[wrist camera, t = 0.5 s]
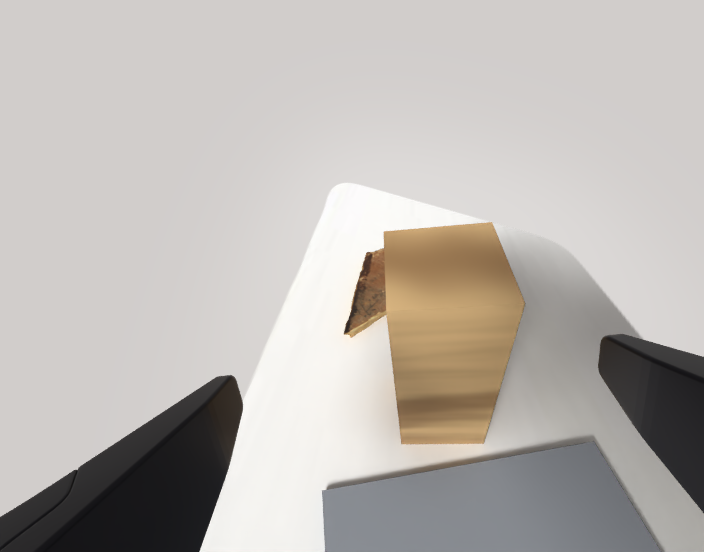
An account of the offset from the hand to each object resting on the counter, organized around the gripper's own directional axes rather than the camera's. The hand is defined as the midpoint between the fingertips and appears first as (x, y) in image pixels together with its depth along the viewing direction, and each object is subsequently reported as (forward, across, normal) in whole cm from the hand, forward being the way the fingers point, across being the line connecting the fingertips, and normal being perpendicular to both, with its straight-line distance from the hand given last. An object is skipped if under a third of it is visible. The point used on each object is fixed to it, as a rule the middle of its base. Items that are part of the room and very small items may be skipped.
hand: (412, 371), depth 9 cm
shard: (+22, -1, +8) cm, 24 cm away
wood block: (+12, -2, +11) cm, 17 cm away
